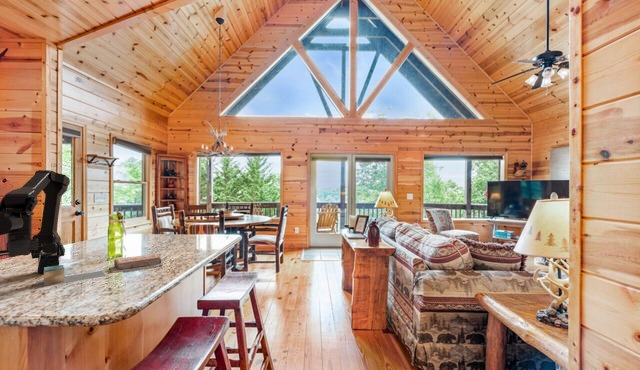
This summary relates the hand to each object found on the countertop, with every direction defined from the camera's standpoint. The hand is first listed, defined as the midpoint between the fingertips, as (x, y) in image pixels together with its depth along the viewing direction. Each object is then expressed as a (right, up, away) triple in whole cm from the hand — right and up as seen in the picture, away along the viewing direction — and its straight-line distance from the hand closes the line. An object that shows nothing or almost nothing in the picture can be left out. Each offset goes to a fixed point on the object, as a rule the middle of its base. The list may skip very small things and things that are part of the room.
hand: (19, 276), depth 98 cm
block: (+6, -4, +6) cm, 9 cm away
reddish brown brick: (+23, -5, +27) cm, 35 cm away
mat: (+9, -4, +10) cm, 14 cm away
